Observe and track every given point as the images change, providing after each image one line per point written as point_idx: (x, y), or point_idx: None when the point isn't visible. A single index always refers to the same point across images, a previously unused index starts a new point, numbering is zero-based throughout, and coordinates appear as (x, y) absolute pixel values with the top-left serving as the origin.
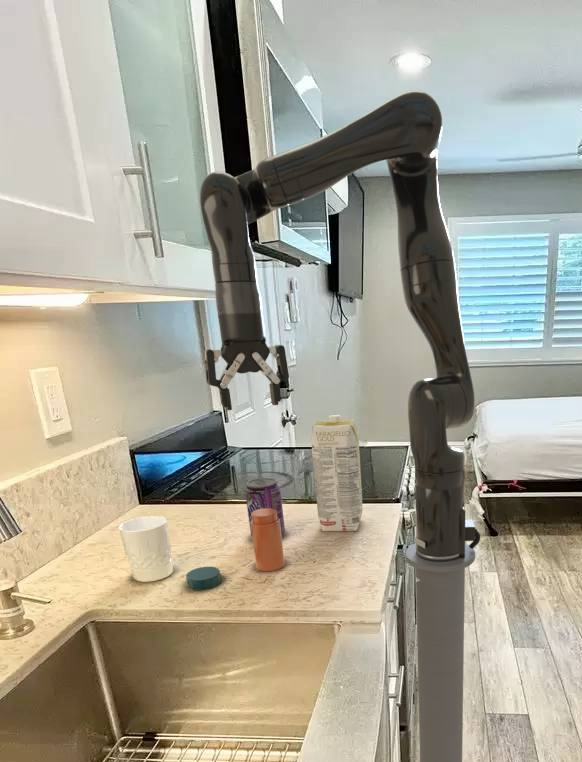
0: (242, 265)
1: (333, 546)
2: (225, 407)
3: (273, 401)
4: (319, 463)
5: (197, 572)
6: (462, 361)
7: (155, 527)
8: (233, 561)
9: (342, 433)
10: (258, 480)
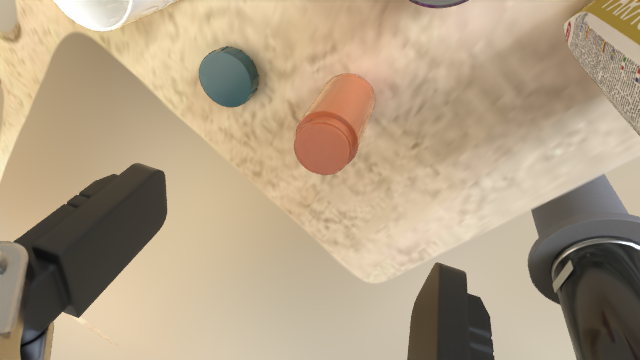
0: None
1: (497, 117)
2: (135, 168)
3: (418, 309)
4: (630, 113)
5: (218, 70)
6: None
7: (110, 30)
8: (305, 24)
9: None
10: None
